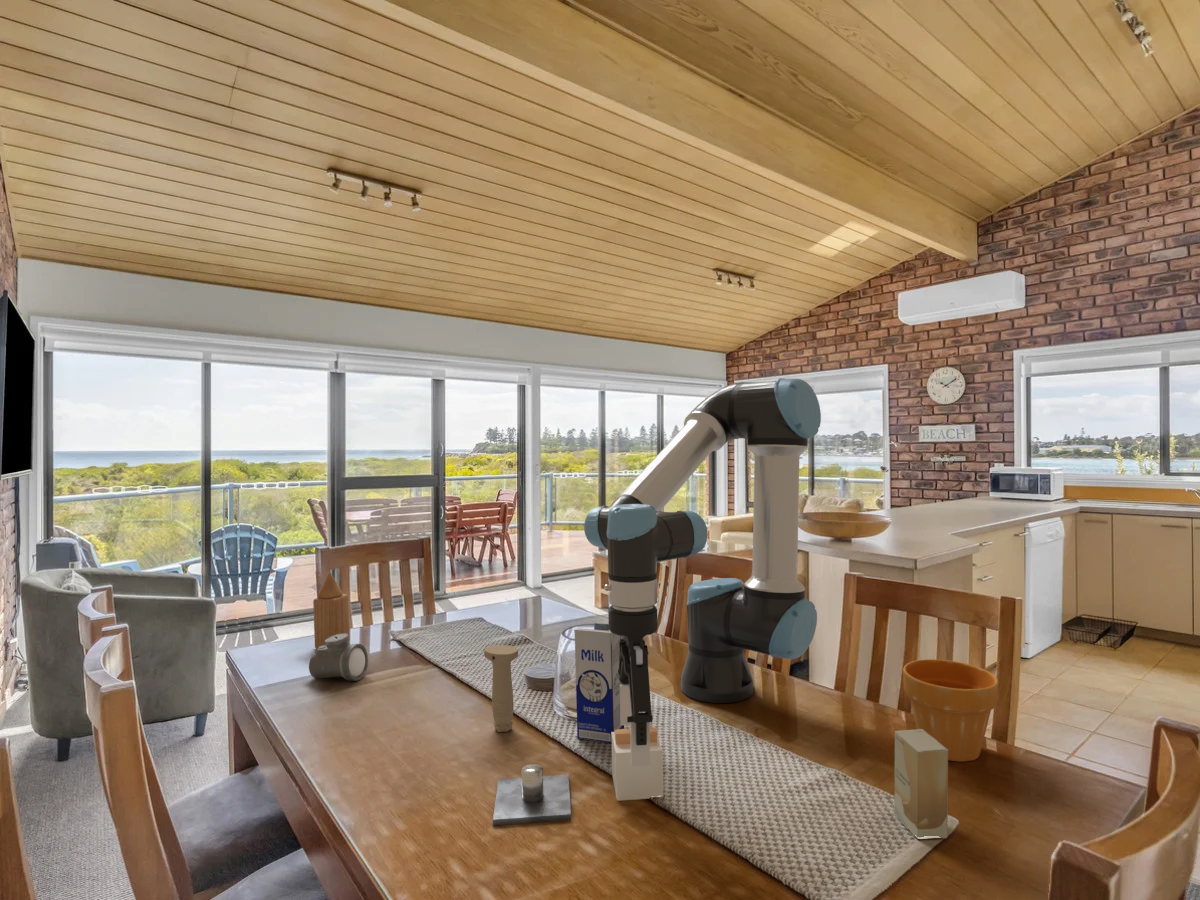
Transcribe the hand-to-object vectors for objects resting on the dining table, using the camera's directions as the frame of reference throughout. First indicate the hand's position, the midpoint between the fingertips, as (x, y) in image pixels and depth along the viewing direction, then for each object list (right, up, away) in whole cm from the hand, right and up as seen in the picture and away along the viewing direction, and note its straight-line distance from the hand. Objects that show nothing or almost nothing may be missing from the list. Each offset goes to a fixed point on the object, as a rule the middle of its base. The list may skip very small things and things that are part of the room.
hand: (634, 743), depth 102 cm
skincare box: (+39, -7, -12) cm, 41 cm away
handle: (-23, -7, +22) cm, 33 cm away
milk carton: (-5, -7, +19) cm, 21 cm away
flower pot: (+54, -6, +10) cm, 55 cm away
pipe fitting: (-66, -8, +50) cm, 83 cm away
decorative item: (-77, -7, +75) cm, 107 cm away
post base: (-15, -7, -3) cm, 17 cm away
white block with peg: (0, -7, 0) cm, 7 cm away
